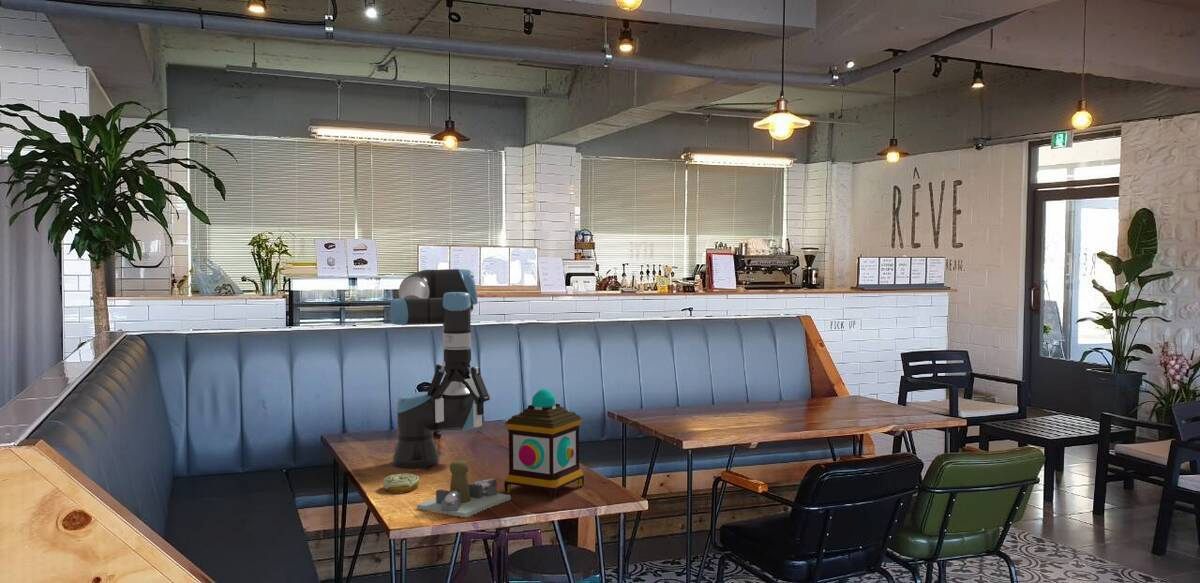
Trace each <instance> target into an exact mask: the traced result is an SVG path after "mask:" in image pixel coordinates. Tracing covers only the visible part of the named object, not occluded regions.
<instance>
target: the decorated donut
mask: <svg viewBox="0 0 1200 583" xmlns="http://www.w3.org/2000/svg"><path fill="white" fill-rule="evenodd" d="M382 483H383V487H384V489H385V490H386V491H388V492H390V491H391V492H390V493H395V492H398V493H397V494H403V493H402V492H404V493H409V492H413V491H414V490H416V489H417V488H418V487H419V485H420V478H419V476H418V475H415V474H412V473H396V474H391V475H388V476H386V477H385V478H384V479H383V481H382ZM412 490H413V491H412ZM408 491H409V492H408ZM399 492H401V493H399Z"/></svg>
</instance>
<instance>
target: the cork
mask: <svg viewBox="0 0 1200 583" xmlns="http://www.w3.org/2000/svg"><path fill="white" fill-rule="evenodd" d="M469 467H470V465H469V463H468V462H467V461H466V460H461V459H460V460H454V461H452V462H451V463H450V465H449V471H450V473H451V479H450V485H449V486H450V489H449V491H457V492H458V493H461V503H466V502H469V501H470V500H471V498H470V491H469V484H468V483H469V478H468V474H467V473H468V472H469V469H470V468H469Z"/></svg>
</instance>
